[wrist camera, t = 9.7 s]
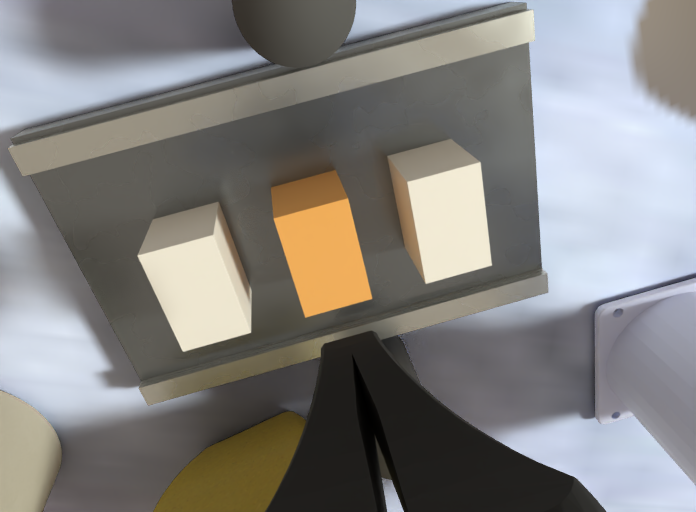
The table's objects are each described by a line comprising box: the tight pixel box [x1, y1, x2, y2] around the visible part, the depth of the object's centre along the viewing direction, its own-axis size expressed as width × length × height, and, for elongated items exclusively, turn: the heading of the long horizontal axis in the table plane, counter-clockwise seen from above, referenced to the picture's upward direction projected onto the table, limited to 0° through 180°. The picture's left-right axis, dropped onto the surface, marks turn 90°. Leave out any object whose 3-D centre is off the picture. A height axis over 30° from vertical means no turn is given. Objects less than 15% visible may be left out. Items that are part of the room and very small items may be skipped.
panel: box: [7, 2, 548, 406], centre depth 21 cm, size 18×12×2 cm, turn 103°
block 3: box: [387, 139, 492, 284], centre depth 20 cm, size 2×4×3 cm, turn 13°
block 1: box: [137, 202, 251, 352], centre depth 20 cm, size 2×4×3 cm, turn 13°
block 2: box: [271, 170, 372, 318], centre depth 20 cm, size 2×4×3 cm, turn 13°
